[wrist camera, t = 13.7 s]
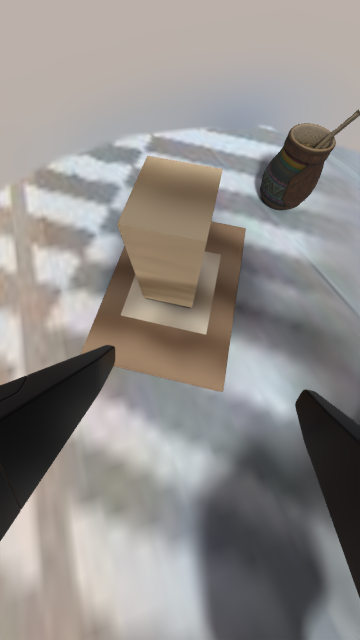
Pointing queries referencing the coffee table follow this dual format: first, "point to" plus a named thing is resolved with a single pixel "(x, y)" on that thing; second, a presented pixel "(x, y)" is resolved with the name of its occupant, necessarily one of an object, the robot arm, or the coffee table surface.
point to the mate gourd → (298, 165)
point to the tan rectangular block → (169, 227)
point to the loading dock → (175, 318)
